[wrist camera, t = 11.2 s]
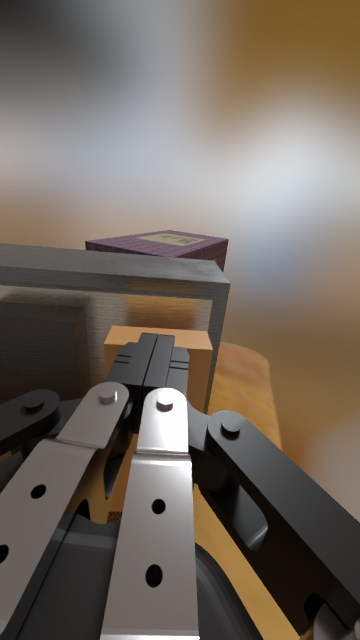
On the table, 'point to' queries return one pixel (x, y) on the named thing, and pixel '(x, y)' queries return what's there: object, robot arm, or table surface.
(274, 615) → the table surface
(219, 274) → the box
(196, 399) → the panel
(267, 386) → the table surface
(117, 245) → the box
